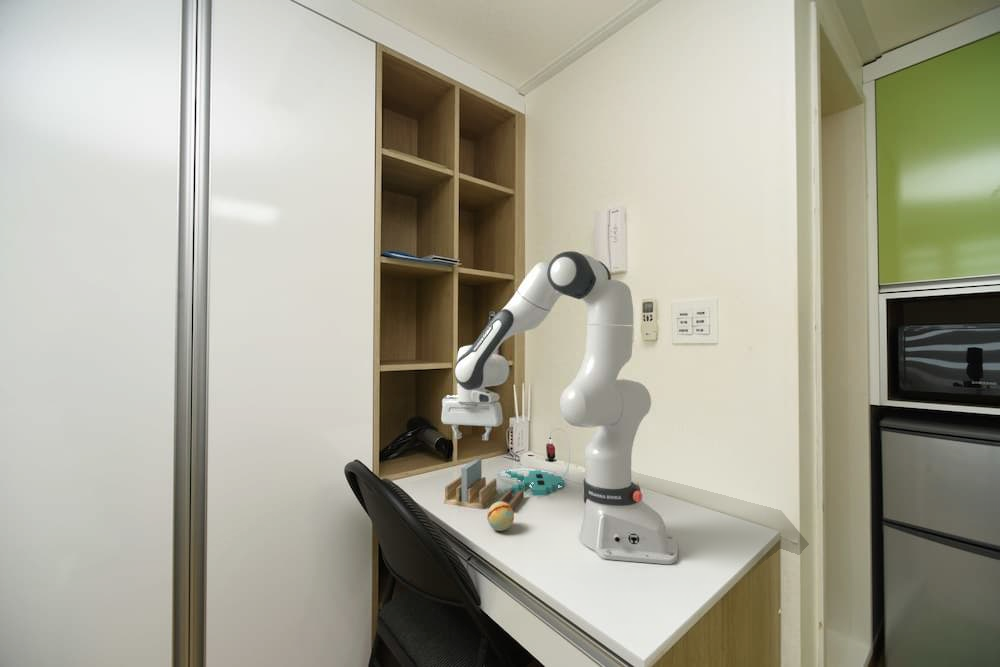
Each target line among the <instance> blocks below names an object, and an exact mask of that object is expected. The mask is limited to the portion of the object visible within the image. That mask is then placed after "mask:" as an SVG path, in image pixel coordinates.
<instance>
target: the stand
mask: <svg viewBox="0 0 1000 667" xmlns="http://www.w3.org/2000/svg"><path fill="white" fill-rule="evenodd" d="M509 488H510V489H509V490H508V491H507V492H506V493H505V492H504V494H503V495H502V496H501V497H500V498H499V499H498V500H497V501H496V502H499V501H502V502H506V503H508V504H509V505H510V506H511V507H512V509H513V512H514V511H515V509H516V508H517V507H518V505H520V504H521V502H522V501H523V499H524V498H525V497H524V496H525V495H524V491H525V490H518V493H515V495H514V493H513V489H511V488H512V487H509Z"/></svg>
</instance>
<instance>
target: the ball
mask: <svg viewBox="0 0 1000 667" xmlns="http://www.w3.org/2000/svg"><path fill="white" fill-rule="evenodd" d="M508 503H509V502H508ZM508 503H506V502H502V501H499V502H497V501H496V502H493V503H492V504H491V506H490V507H489V509H488V511H487V517H486V518H487V522H488V524H489V526H490V527H491V528H492V529H493V530H494V531H499V532H504V531H506V530H508V529H509V528H510V527H512V524H513V523H514V520H515V514H514V513H515V512H514V511H513V509H512V507H511V506H510V505H509V504H508Z"/></svg>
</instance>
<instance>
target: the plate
mask: <svg viewBox="0 0 1000 667" xmlns="http://www.w3.org/2000/svg"><path fill="white" fill-rule="evenodd" d="M482 473H483V471H482V458H478V457H477V458H475V459H473V460H471V461H470V462H469V463H467V464H466V465H464V466H463V467H461V474H460V476H461V482H462V502H468V497H467V490H468V489H469V488H470V487H472V486H473V485H474V484H476V483H477V482H478V481H479V480H481V479H482V478H483V476H482Z"/></svg>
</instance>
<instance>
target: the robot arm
mask: <svg viewBox="0 0 1000 667" xmlns="http://www.w3.org/2000/svg"><path fill="white" fill-rule="evenodd" d="M563 295H564V296H567V297H571V298H574V299H577V300H582V301H583V302H584V303H585V305H586V310H587V316H586V318H587V319H586V336H585V337H586V338H585V349H584V356H583V360H582V362H581V366H580V367H579V369H578V372H577V374H576V376H575V377H574V378H573V380H572V382H571V383H570V384H569V385H568V386H566V387H565V388H564V390H563V391H562V393H561V395H560V399H559V409H560V413H561V415H562V418H563V419H564V420H565V421H566V422H567V423H568V424H569V425H571V426H574V427H579V428H586V429H587V428H588V429H591V428H597V431H596V432H595V435H594V436H593V438H592V439H591V440H590V441H589V442H588V443H587V445H586V446H585V449H584V479H583V483H582V495H583V496H582V497H583V498H582V499H583V502H584V506H583V507H584V509H583V518H582V524H581V529H580V532H579V535H578V536H579V540H580V541H581V543H583V545H584V546H586V547H587V548H589V549H591V550H592V551H594V552H596V555H598V556H599V557H600V558H601V559H604V560H614V561H622V562H623V561H626V562H637V563H638V562H639V563H648V564H661V565H673V564H674V563H676V561H677V560H678V557H679V547H678V543H677V541H676V538H674V536H672V534H670V533H669V532H668V531H667V528H666V527H667V526H666V525H665V522H664V520H663V517H662V516H661V515H660V513H658V512H657V511H656V510H655V509H654V508H652V507H651V506H649V505H648V504H647V503H646V502H645V501H643V493H642V492H641V487H640V485H639V483H637V484H636V483H635V482H633V481H632V453H633V452H632V451H633V447H634V441H635V438H636V434H637V432H638V429H639V427H640V425H641V423H642V421H643V420H644V418H645V417H646V416H647V414H648V413H649V412H650V410H651V406H652V399H651V398H652V397H651V394H650V391H649V390H648V389H647V388H648V387H646V386H645V385H644V384H642V382H641V383H640V382H639V381H638V382H637V381H635V380H630V379H623V378H622V379H621V378H620V379H618V376H619V374H620V372H621V370H622V368H624V366H625V365H626V364H628V362H629V361H630V360H631V358H632V355H633V342H634V340H633V338H634V336H633V335H634V308H633V307H634V306H633V305H634V304H633V297H632V291H631V289H630V287H629V285H628V284H627V283H625V282H623V281H620V280H617V279H612V274H611V272H610V270H609V268H608V267H607V266H606V265H605V264H604V262H602V261H599V260H597V259H595V258H594V257H592V256H591V255H588V254H584V253H580V252H577V251H573V250H572V251H571V250H570V251H569V250H568V251H563V252H560V253H558V254H556V256H554V257H553V258H552V259H551V261H541V262H538V263H536V264H535V265H534V266H533V267H532V269H531V270H530V271H529V272H528V273H527V275H526V277H524V278H523V280H522V282H521V283H520V285H519V286H518V288H517V290H516V291H515V293H514V295H513V296H512V297H511V298H510V300H509V301H508V302H507V304H506V305H504V307H503V308H502V309H500V310H499V311H498V312H497V313H496V314H495V315H494V316H493V317H492V318H491V320H490V321H489V323H488V324H487V325H486V326H485V328H484V329H483V330H482V331H481V333H480V334H479V335H478V338H477V339H476V340H475V341H474V343H471V344H466V345H462V346H461V347H460V348H459V350H458V352H457V357H456V363H455V366H454V370H453V374H454V377H455V378H454V379H455V380H456V382H457V384H456V394H455V395H454V394H453V395H452V394H447V395H446V396H444V397H443V398H442V400H441V404H442V409H441V418H440V419H441V422H442V424H443V425H451V430H452V431H453V433H454V439H456V440H460V439H462V432H460V431H459V426H475V427H476V426H477V427H484V429H485V430H486V431H485V433H484V434H481V437H482V438H481V440H482V441H485V442H486V441H489V437H490V436H489V435H490V432H491V431H492V429H493V428H492V427H495V428H496V427H499V426H502V424H503V422H504V421H503V419H504V418H503V409H502V405H501V403H500V402H499V400H500V394H498V393H497V392H493V391H491V390H489V389H486V387H487V388H488V387H489V388H490V387H496V386H499V385H503V384H505V383H506V382H507V381H508V379H509V377H510V374H511V373H510V369H511V368H510V364H509V362H508V360H507V359H506V357H505V356H503V355H500V354H496V351H497V350H498V348H500V346H501V345H502V343H504V341H506V340H507V339H508V338H510V337H513V336H515V335H517V334H519V333H523V332H527V331H530V330H533V329H535V328H537V327H539V326H540V325H541V323H543V322H544V321H545V320H546V318H547V317H548V315H549V314H550V312H551V311H552V309H553V308H554V306H555V304H556V303H557V301H558V299H560V298H561V297H562V296H563Z"/></svg>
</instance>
